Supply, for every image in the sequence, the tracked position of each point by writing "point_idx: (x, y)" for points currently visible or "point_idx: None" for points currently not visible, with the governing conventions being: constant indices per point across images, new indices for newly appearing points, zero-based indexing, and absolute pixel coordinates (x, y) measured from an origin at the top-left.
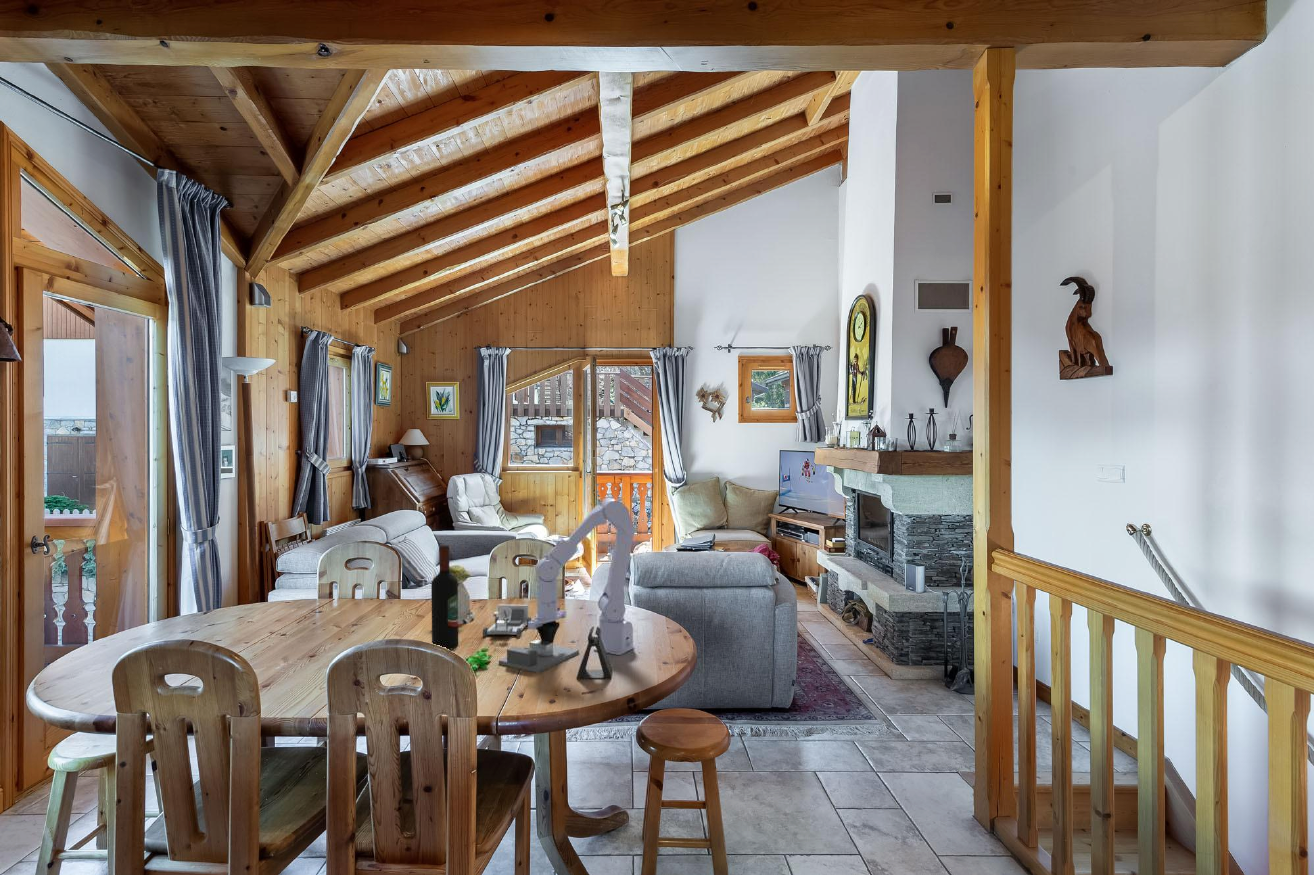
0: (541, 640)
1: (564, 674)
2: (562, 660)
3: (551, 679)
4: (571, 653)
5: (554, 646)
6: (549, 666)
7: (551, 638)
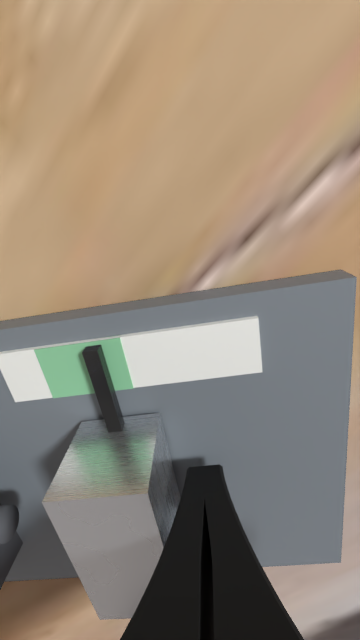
0: (159, 538)
1: (79, 622)
2: None
3: (9, 619)
4: (266, 566)
5: (324, 429)
6: None
7: (213, 615)
